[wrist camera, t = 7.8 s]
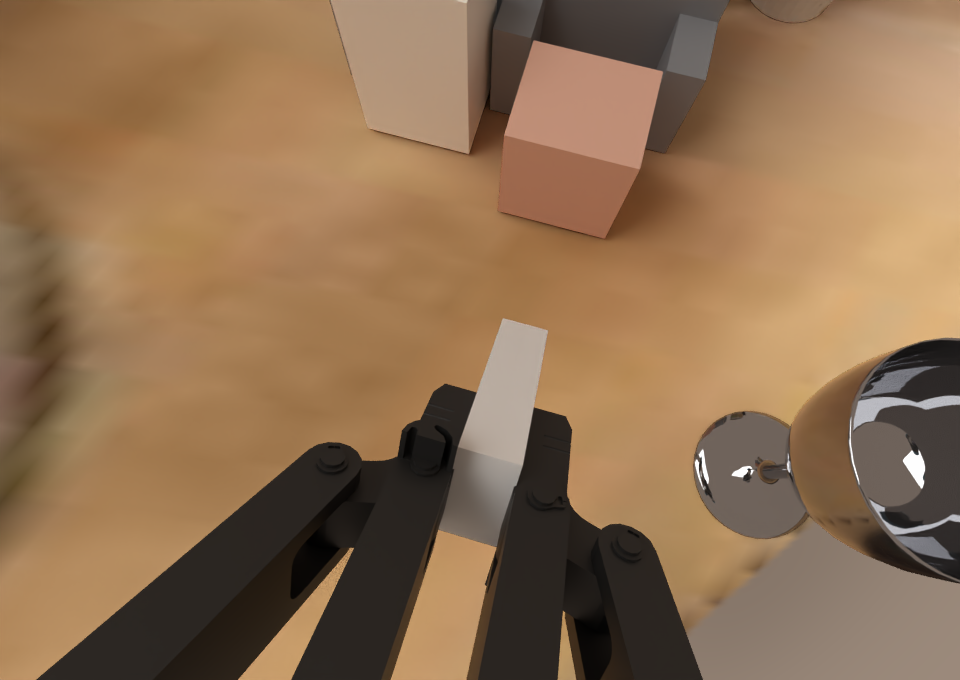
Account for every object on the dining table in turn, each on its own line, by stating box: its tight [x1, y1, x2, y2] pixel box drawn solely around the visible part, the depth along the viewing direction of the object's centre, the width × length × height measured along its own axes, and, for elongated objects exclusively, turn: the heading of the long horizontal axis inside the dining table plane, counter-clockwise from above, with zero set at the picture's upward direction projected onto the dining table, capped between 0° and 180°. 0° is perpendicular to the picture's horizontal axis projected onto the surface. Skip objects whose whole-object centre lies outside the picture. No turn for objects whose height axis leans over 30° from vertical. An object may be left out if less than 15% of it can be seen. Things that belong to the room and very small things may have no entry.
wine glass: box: [693, 338, 960, 583], centre depth 26 cm, size 8×8×15 cm
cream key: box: [331, 0, 497, 154], centre depth 33 cm, size 7×6×12 cm
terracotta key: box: [498, 40, 663, 239], centre depth 33 cm, size 7×6×8 cm
